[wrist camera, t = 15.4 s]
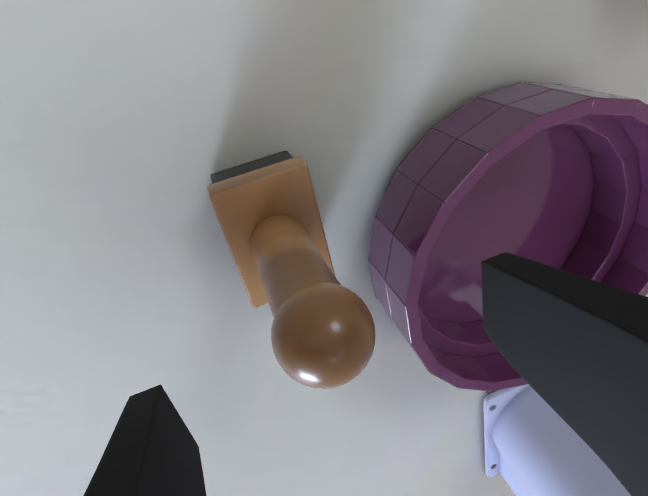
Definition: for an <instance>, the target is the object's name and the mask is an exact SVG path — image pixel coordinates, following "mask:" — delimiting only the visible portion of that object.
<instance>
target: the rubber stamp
mask: <svg viewBox="0 0 648 496" xmlns="http://www.w3.org/2000/svg"><path fill="white" fill-rule="evenodd" d="M211 179H212V183H213V184H211V185H208V187H207V188H208V193H209V197H210V199H211V202H212V205H213V207H214V210H215V212H216V215H217V217H218V220H219V222H220V225H221V227H222V230H223V232H224V235H225V238H226V240H227V243H228V245H229V248H230V250H231V253H232V255H233V258H234V260H235V263H236V266H237V268H238V271H239V273H240V276H241V278H242V281H243V283H244V286H245V288H246V291H247V293H248V296H249V299H250V301H251V304H252V306H253V307H254V308H255V307H258V306H261V305H263V304H266V303H269V305H270V307H271V310H272V313H273V316H274V320H273V324H272V330H271V341H272V347H273V351H274V354H275V356H276V359H277V361H278V363H279V364H280V366H281V367H282V368H283V370H284V371H285V372H286V373H287V374H288V375H289V376H290V377H291V378H293V379H294V380H296V381H297V382H299V383H301V384H303V385H306V386H309V387H313V388H322V389H326V388H334V387H338V386H340V385H343V384H345V383H347V382H349V381H351V380H352V379H354V378H355V377H356V376H357V375H359V374H360V373H361V372H362V370H363V369H364V368H365V367H366V365H367V363H368V362H369V360H370V358H371V356H372V353H373V349H374V345H375V326H374V322H373V319H372V315H371V313H370V311H369V309H368V307H367V306H366V305H365V303H364V302H363V301H362V299H361V298H360V297H359V296H357V295H356V294H355V293H354V292H352V291H351V290H349V289H347V288H345V287H343V286H341V285H340V283H339V282H338V280H337V279H336V277H335V273H334V269H333V265H332V261H331V257H330V254H329V250H328V246H327V242H326V238H325V234H324V230H323V226H322V222H321V218H320V214H319V210H318V206H317V202H316V198H315V194H314V190H313V186H312V182H311V178H310V174H309V170H308V166H307V164H306V162H305V161H304V160H303V159H302V158H301V157H300V156H297V157H294V158H292V157H291V155H290V154H289V153H288V152H287V151H283V152H280V153H277V154H274V155H270V156H267V157H264V158H261V159H258V160H255V161H252V162H248V163H245V164H242V165H239V166H236V167H233V168H230V169H227V170H223V171H220V172H217V173H214V174H211Z"/></svg>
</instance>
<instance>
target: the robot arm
mask: <svg viewBox="0 0 648 496" xmlns="http://www.w3.org/2000/svg"><path fill="white" fill-rule="evenodd" d="M481 272H482V306H483V329H484V331H485V332H486V333H487V335H488V336H489V338H490V339H491V340H492V342H493V343H494V344H495V346H496V347H497V349H498V350H499V351H500V352H501V354H502V355H503V356H504V358H505V359H506V360H507V361H508V363H509V364H510V365H511V366H512V367H513V368H514V370H515V371H516V372H517V373H518V374H519V375H520V376H521V377H522V378H523V379H524V380H525V381H526V382H527V383H528V384H527V385H523V386H517V387H512V388H507V389H502V390H498V391H496V392H493V393H491V394H489V395H487V396H486V397H485V398H484V400H483V415H484V445H485V473H486V474H487V476H488V477H489V478H492V477H495V476H497V475H499V474H501V475H502V477H503V478H504V480H505V481H506V482H507V484H508V485H509V487H510V488H511V489H512V491H513V492H514V494H515V495H516V496H648V297H646V296H642V295H639V294H636V293H632V292H629V291H626V290H622V289H619V288H616V287H613V286H609V285H606V284H603V283H600V282H597V281H594V280H591V279H588V278H585V277H582V276H578V275H575V274H572V273H569V272H566V271H563V270H560V269H557V268H554V267H551V266H548V265H545V264H542V263H539V262H536V261H533V260H530V259H527V258H524V257H521V256H517V255H514V254H510V253H507V252H504V253H501V254H499V255H496V256H494V257H491V258H488V259H486V260H483V261H481ZM84 496H206V491H205V484H204V477H203V471H202V465H201V459H200V453H199V447H198V445H197V443H196V441H195V440H194V438H193V437H192V435H191V433H190V432H189V430H188V428H187V427H186V425H185V423H184V422H183V420H182V419H181V417H180V415H179V414H178V412H177V410H176V409H175V407H174V405H173V404H172V402H171V401H170V399H169V397H168V396H167V394H166V392H165V391H164V389H163V387H162V386H161V385H158V386H156V387H153V388H151V389H148V390H145V391H143V392H140V393H138V394H135V395H132V396H130V398H129V400H128V401H127V403H126V406H125V408H124V410H123V412H122V414H121V416H120V418H119V421H118V423H117V425H116V427H115V430H114V432H113V434H112V436H111V438H110V441H109V443H108V445H107V447H106V449H105V452H104V454H103V456H102V458H101V460H100V462H99V465H98V467H97V469H96V471H95V473H94V475H93V477H92V479H91V481H90V484H89V486H88V488H87V490H86V492H85V494H84Z"/></svg>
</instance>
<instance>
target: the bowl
mask: <svg viewBox="0 0 648 496" xmlns="http://www.w3.org/2000/svg"><path fill="white" fill-rule="evenodd" d="M504 252H507V253H510V254H514V255H517V256H521V257H524V258H527V259H530V260H533V261H536V262H539V263H542V264H545V265H548V266H551V267H554V268H557V269H560V270H563V271H566V272H569V273H572V274H575V275H578V276H582V277H585V278H588V279H591V280H594V281H597V282H600V283H603V284H606V285H609V286H613V287H616V288H619V289H622V290H626V291H629V292H632V293H636V294H639V295H642V296H646V294H647V293H648V105H647V104H645V103H644V102H642V101H641V100H638V99H633V98H628V97H623V96H618V95H613V94H607V93H602V92H596V91H592V90H587V89H581V88H576V87H571V86H566V85H559V84H543V83H528V82H523V83H518V84H515V85H512V86H508V87H505V88H502V89H499V90H496V91H493V92H490V93H487V94H484V95H480V96H477V97H476V98H474V99H472V100H471V101H469V102H468V103H466V104H465V105H464V106H462V107H461V108H459V109H458V110H456V111H455V112H454V113H452V114H451V115H449V116H448V117H446V118H445V119H444V120H442V121H441V122H439V123H438V124H436V125H435V126H434V127H433V128H431V129H430V130H429V131H428V132H427V133H426V135H425V136H424V137H423V138H422V139H421V141H420V142H419V143H418V144H417V145H416V147H415V148H414V149H413V150H412V151H411V153H410V154H409V155H408V156H407V157H406V159H405V160H404V161H403V162H402V163H401V165H400V166H399V167H398V168H397V170H396V172H395V174H394V176H393V178H392V180H391V183H390V185H389V187H388V189H387V191H386V193H385V195H384V198H383V200H382V202H381V204H380V206H379V208H378V210H377V212H376V216H375V218H374V225H373V231H372V238H371V245H370V251H369V258H368V261H369V266H370V271H371V276H372V282H373V287H374V292H375V296H376V298H377V299H378V301H379V302H380V304H381V305H382V307H383V308H384V310H385V311H386V312H387V314H388V315H389V317H390V318H391V320H392V321H393V323H394V324H395V325H396V327H397V328H398V330H399V331H400V332H401V334H402V335H403V337H404V338H405V339H406V341H407V342H408V344H409V345H410V346H411V348H412V349H413V350H414V352H415V353H416V355H417V356H418V357H419V359H420V360H421V362H422V363H423V364H424V366H425V367H426V369H427V370H428V371H429V372H430V373H431V374H433V375H435V376H437V377H439V378H440V379H442V380H444V381H446V382H448V383H450V384H451V385H453V386H455V387H457V388H462V389H472V390H481V391H497V390H502V389H507V388H512V387H517V386H523V385H527V384H528V383H527V382H526V381H525V380H524V379H523V378H522V377H521V376H520V375H519V374H518V373H517V372H516V371H515V370H514V368H513V367H512V366H511V365H510V364H509V363H508V361H507V360H506V359H505V358H504V356H503V355H502V354H501V352H500V351H499V350H498V349H497V347H496V346H495V344H494V343H493V342H492V340H491V339H490V338H489V336H488V335H487V333H486V332H485V331H484V329H483V306H482V272H481V261H483V260H486V259H488V258H491V257H494V256H496V255H499V254H501V253H504Z"/></svg>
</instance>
